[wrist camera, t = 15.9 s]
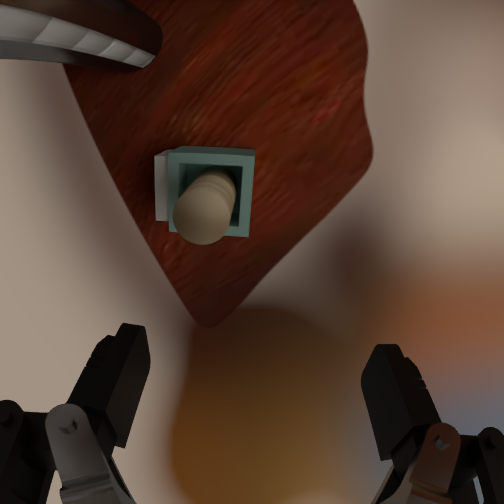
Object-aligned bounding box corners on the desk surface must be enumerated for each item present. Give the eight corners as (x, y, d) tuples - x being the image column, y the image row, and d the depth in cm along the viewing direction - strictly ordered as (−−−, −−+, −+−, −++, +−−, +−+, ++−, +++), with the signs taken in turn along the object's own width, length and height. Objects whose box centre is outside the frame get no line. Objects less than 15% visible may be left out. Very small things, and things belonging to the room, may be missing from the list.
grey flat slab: (167, 149, 28) (154, 156, 24) (180, 150, 28) (169, 156, 24) (167, 206, 31) (156, 220, 27) (180, 207, 31) (170, 221, 27)
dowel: (196, 164, 28) (171, 189, 20) (238, 166, 28) (230, 190, 20) (196, 204, 29) (173, 243, 21) (237, 206, 29) (229, 245, 21)
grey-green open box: (181, 146, 28) (168, 152, 24) (255, 149, 28) (254, 156, 24) (180, 214, 31) (169, 231, 27) (249, 219, 31) (248, 237, 27)
